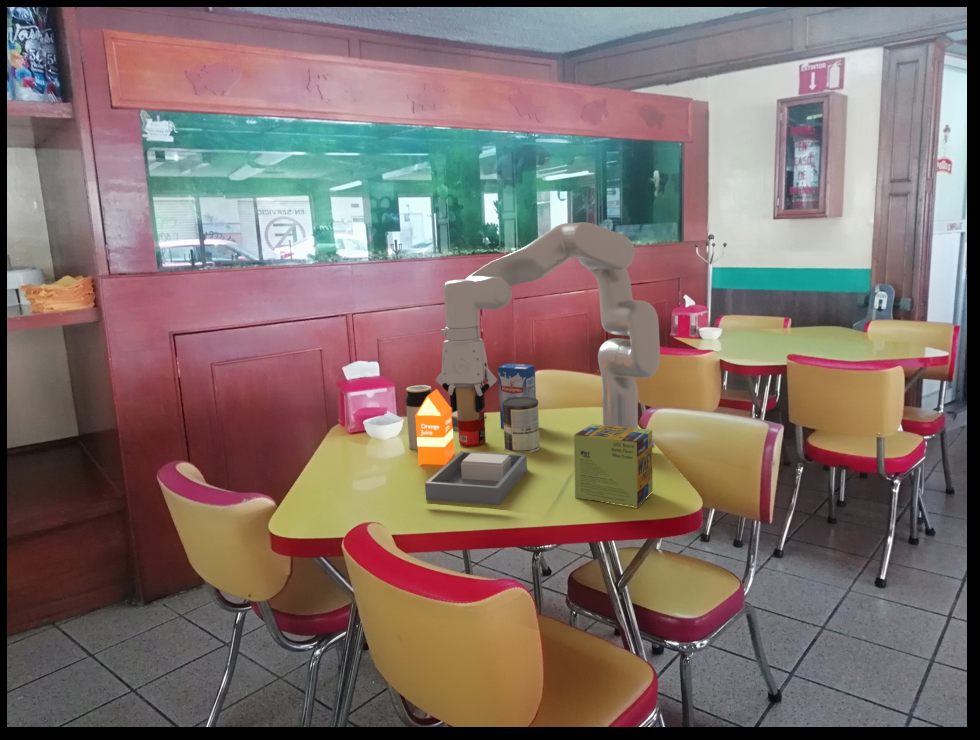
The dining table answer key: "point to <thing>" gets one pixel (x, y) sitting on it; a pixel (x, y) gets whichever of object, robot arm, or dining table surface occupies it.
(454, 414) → the packaged product
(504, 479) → the tray
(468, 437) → the canned food
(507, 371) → the milk carton
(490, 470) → the egg box
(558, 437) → the dining table surface
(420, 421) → the orange juice
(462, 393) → the amber jar
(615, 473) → the protein box
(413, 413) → the travel mug
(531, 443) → the coffee can
